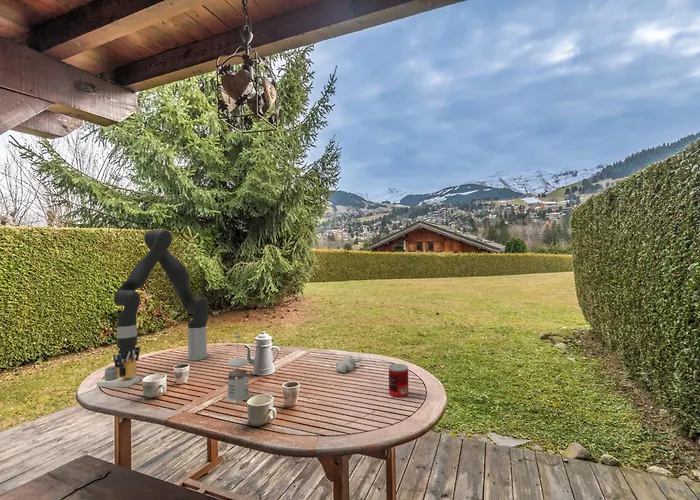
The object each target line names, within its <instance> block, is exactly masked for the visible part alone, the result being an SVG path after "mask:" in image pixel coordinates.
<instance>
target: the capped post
mask: <svg viewBox="0 0 700 500" xmlns="http://www.w3.org/2000/svg"><path fill="white" fill-rule="evenodd" d="M104 378H105V381H111V380H115V379H117V378H118V368H116V367H115V365H110V366H108V367H107V368H104Z"/></svg>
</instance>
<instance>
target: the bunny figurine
mask: <svg viewBox="0 0 700 500" xmlns="http://www.w3.org/2000/svg"><path fill="white" fill-rule="evenodd" d="M361 362H362V358H361V357H358V358H356V359H354V358H353V356H347V357H345V356H344V358H343V359H342V360H340V361H337V362H336V363H335V371H336V372H339V373H343V374H346V373H347V372H348V371H354V368H355V367H356V363H357V364H358V363H361Z"/></svg>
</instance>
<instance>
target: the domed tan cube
mask: <svg viewBox="0 0 700 500" xmlns="http://www.w3.org/2000/svg"><path fill="white" fill-rule="evenodd" d="M123 363H124V362H122V365H123ZM118 365H119V363H118ZM125 368H126V375H125V376H124V377H121V376H120V375H119V368H118V378H130V377H132V376H137V361H131V359H128V362H127V363H126V367H125Z"/></svg>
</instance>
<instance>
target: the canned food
mask: <svg viewBox="0 0 700 500" xmlns="http://www.w3.org/2000/svg"><path fill="white" fill-rule="evenodd" d="M388 392H389V393H388V394H389V395H390V396H391V397H392V396H393V398H395V397H403V398H405V397H404V396H406V397H407V396H408V394H409V366H408V365H406V364H403V363H392V364H389V366H388Z"/></svg>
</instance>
